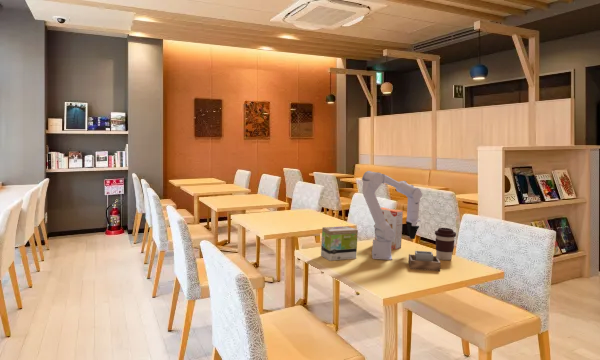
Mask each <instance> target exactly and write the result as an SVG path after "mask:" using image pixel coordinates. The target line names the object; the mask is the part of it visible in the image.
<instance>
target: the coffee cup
mask: <svg viewBox="0 0 600 360" xmlns="http://www.w3.org/2000/svg"><path fill="white" fill-rule="evenodd" d="M434 235H435V251H436V253H435V254H436V255H435V256H437V258H438V259H439V260H441V261H451V260H452V257H453V252H454V247H455V237H456V236H457V233H456V232H455V231H454V230H453V228H449V227H438V229H437V230H435V231H434Z"/></svg>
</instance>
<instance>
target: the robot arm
mask: <svg viewBox="0 0 600 360" xmlns="http://www.w3.org/2000/svg"><path fill="white" fill-rule="evenodd" d="M361 181H362V191H361V193H362V195H363V198H364V199H365V202H366V205H367V207H368V209H369V210H368V211H369V212H370V214H371V217H372V219H373V221H374V225H373V229H374V236H375V235H376V236H377V239H376V240H375V239H372V250H371V256H372V259H374V260H375V259H376V260H386V261H387V260H388V261H392V260H393V257H392V249H391V244H392V240H393V239H394V237H395V232H394V230H393V229H392V228H391V227H390V225H389V224H388V223H387V222H386V220H385V218H384V215H383V213H382V210H381V206H380V203H379V200H378V198H377V196H376V191H377V190H378V189H379V188H380V186H381V185H382V184H386V185H388V186H391V187H393V188H395V190H396V192H397V193H400V194H402V195H403V196H406V198H407V205H406V207H407V208H406V211H407V212H406V219H405V223H406V226H407V234H408V236H409V239H410V240H415V239H416V236H417V233H418V229H419V228H420V225H417V224H418V222H421V221H422V219H420V218H419V214H420V202H421V198H422V197H423V192H422V190H421V189H420V188H418V187H415V185H414V184H409V183H408V182H407V181H406V180H400V181H397V180H396V179H394V178H392V177H390V176H388V175H387V174H384V173H381V172H375V171H372V170H367V171H365V172H364V173H363V176H362V178H361Z"/></svg>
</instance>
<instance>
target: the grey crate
mask: <svg viewBox="0 0 600 360" xmlns="http://www.w3.org/2000/svg"><path fill="white" fill-rule="evenodd" d="M414 255H415V260H416V261H431V262H433V256H434V254H433V252H432V251H423V250H414Z"/></svg>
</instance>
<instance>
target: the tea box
mask: <svg viewBox="0 0 600 360" xmlns="http://www.w3.org/2000/svg"><path fill="white" fill-rule="evenodd" d="M321 229H322V230H321V249H320V250H321V251H320V255H321V257H323V258H324V259H325V260H327V261H329V262H330V261H340V260H341V261H342V260H352V259H353V260H355V259H357V253H358V252H357V251H358V231H359V230H358V229H356V228H355V227H351V226H349V225H345V226H328V227H323V226H322V228H321Z"/></svg>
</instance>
